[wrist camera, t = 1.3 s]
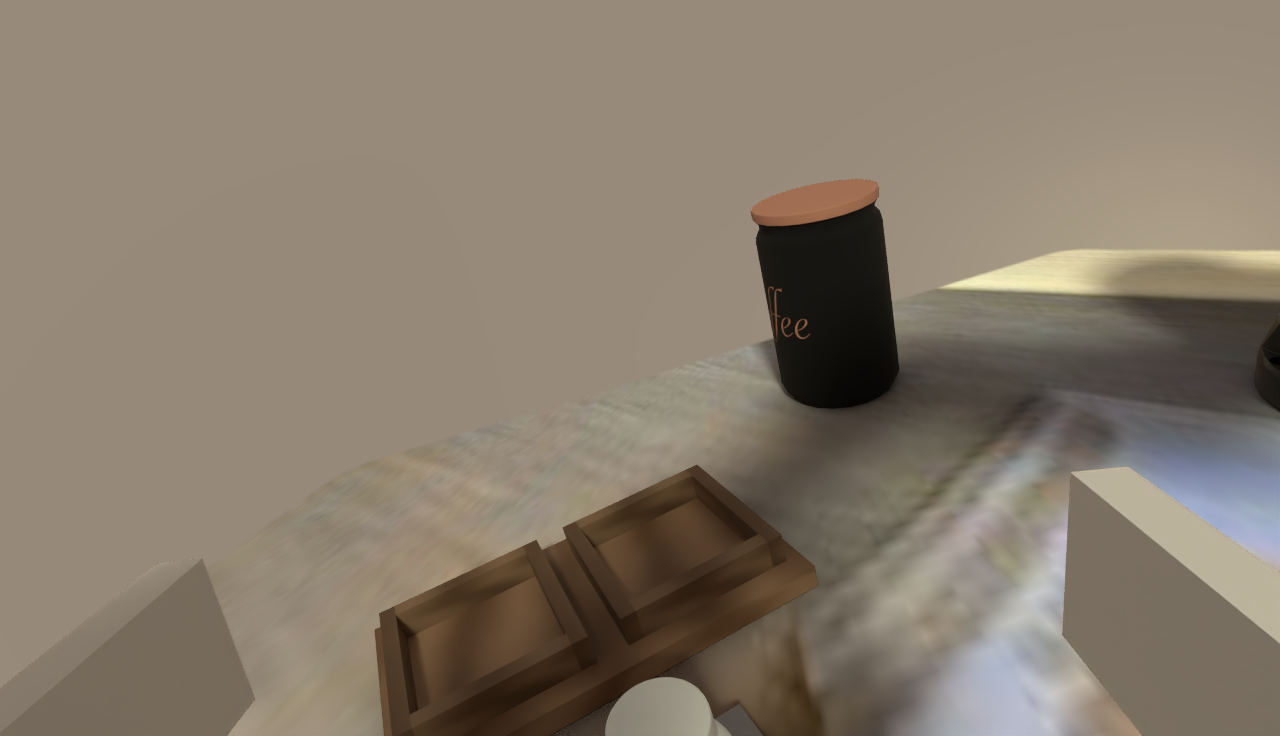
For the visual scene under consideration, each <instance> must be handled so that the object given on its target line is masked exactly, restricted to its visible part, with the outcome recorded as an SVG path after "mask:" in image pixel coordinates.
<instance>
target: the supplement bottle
mask: <svg viewBox="0 0 1280 736" xmlns="http://www.w3.org/2000/svg"><path fill="white" fill-rule="evenodd" d="M605 736H732V735H731V734H730V733H729V731H728V730H727V729H726V728H725V727H724V726H723V725H722V724H721V723H719V722H718V721H717V720H715V719H714V718H713V714H712V711H711V708H710V705H709V703H708V701H707V699H706V697H705V696H704V694H703V693H702V692H701V691H700V690H699V689H698V688H697V687H695V686H694V685H693V684H691V683H689V682H687V681H685V680H682V679H678V678H672V677H660V678H654V679H650V680H647V681H644V682H642V683H640V684H638V685H636V686H634V687H632V688H631V689H630V690H628V691H627V692H626V693H625V694H623V695H622V696H621V698H620V699H619V700H618V701H617V702H616V704H615V705H614V707H613V708H612V710H611V712H610V714H609V716H608V719H607V722H606V728H605Z"/></svg>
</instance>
